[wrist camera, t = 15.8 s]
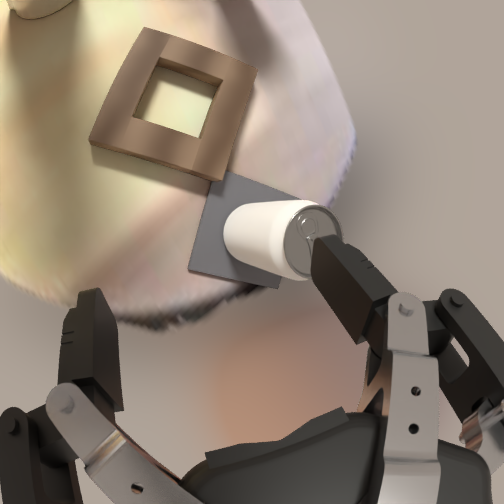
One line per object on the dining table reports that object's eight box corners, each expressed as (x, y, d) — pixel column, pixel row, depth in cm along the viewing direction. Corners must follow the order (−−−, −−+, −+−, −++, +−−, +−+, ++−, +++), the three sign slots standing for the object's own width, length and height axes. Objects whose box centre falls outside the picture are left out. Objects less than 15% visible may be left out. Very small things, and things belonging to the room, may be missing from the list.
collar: (90, 144, 25) (88, 139, 23) (141, 36, 25) (144, 26, 23) (216, 182, 31) (222, 180, 29) (250, 76, 31) (258, 69, 29)
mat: (187, 268, 31) (188, 269, 30) (215, 167, 31) (216, 167, 30) (276, 288, 36) (277, 289, 35) (299, 199, 36) (301, 199, 35)
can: (262, 194, 33) (332, 185, 22) (283, 245, 35) (356, 259, 24) (211, 219, 31) (265, 221, 20) (236, 273, 33) (297, 301, 22)
